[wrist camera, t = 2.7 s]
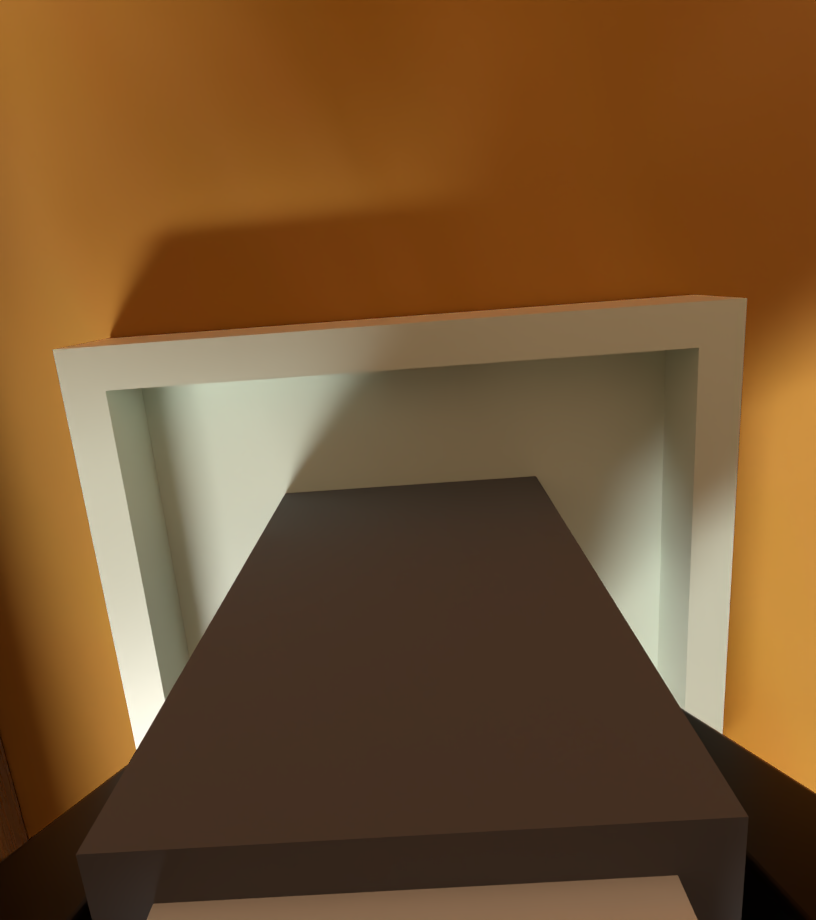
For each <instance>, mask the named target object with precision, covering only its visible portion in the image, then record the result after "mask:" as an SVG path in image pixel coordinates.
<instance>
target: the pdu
mask: <svg viewBox="0 0 816 920" xmlns="http://www.w3.org/2000/svg"><path fill="white" fill-rule="evenodd" d="M27 841H28V838H27V834H26V831H25V827H24V823H23V820H22V816H21V812H20V808H19V805H18V801H17V797H16V794H15V790H14V786H13V783H12V779H11V775H10V771H9V768H8V764H7V760H6V757H5V753H4V749H3V745H2V742H1V738H0V862H1V861H2V860H3V859H4V858H6V857H7V856H8V855H10V854H11V853H12V852H14V851H15V850H16V849H18V848H19V847H20V846H22V845H23V844H24V843H25V842H27Z"/></svg>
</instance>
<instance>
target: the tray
mask: <svg viewBox="0 0 816 920" xmlns="http://www.w3.org/2000/svg"><path fill="white" fill-rule="evenodd" d="M746 311H747V298H739V297H724V296H708V295H683V296H669V297H656V298H642V299H629V300H616V301H602V302H589V303H575V304H562V305H548V306H535V307H522V308H508V309H495V310H481V311H468V312H455V313H441V314H428V315H414V316H401V317H388V318H374V319H361V320H347V321H334V322H320V323H307V324H294V325H280V326H267V327H253V328H240V329H227V330H213V331H200V332H186V333H173V334H159V335H146V336H133V337H119V338H107V339H102V340H97V341H92V342H87V343H83V344H78V345H73V346H68V347H63V348H58V349H53V354H54V359H55V363H56V368H57V373H58V378H59V382H60V387H61V392H62V397H63V402H64V406H65V411H66V416H67V421H68V425H69V430H70V435H71V440H72V445H73V449H74V454H75V459H76V464H77V468H78V473H79V478H80V483H81V488H82V492H83V497H84V502H85V507H86V511H87V516H88V521H89V526H90V530H91V535H92V540H93V545H94V550H95V554H96V559H97V564H98V569H99V573H100V578H101V583H102V588H103V593H104V597H105V602H106V607H107V612H108V616H109V621H110V626H111V631H112V636H113V640H114V645H115V650H116V655H117V659H118V664H119V669H120V674H121V679H122V683H123V688H124V693H125V698H126V702H127V707H128V712H129V717H130V721H131V726H132V731H133V736H134V741H135V745H136V750H137V748H138V746H139V745H140V743H141V741H142V740H143V738H144V736H145V734H146V733H147V731H148V729H149V727H150V726H151V724H152V722H153V721H154V719H155V717H156V715H157V714H158V712H159V710H160V709H161V707H162V705H163V703H164V702H165V700H166V698H167V696H168V695H169V693H170V691H171V690H172V688H173V686H174V684H175V683H176V681H177V679H178V678H179V676H180V674H181V672H182V671H183V669H184V667H185V665H186V664H187V662H188V660H189V659H190V657H191V655H192V653H193V652H194V650H195V648H196V646H197V645H198V643H199V641H200V640H201V638H202V636H203V634H204V633H205V631H206V629H207V628H208V626H209V624H210V622H211V621H212V619H213V617H214V615H215V614H216V612H217V610H218V609H219V607H220V605H221V603H222V602H223V600H224V598H225V596H226V595H227V593H228V591H229V590H230V588H231V586H232V584H233V583H234V581H235V579H236V578H237V576H238V574H239V572H240V571H241V569H242V567H243V565H244V564H245V562H246V560H247V559H248V557H249V555H250V553H251V552H252V550H253V548H254V547H255V545H256V543H257V541H258V540H259V538H260V536H261V534H262V533H263V531H264V529H265V528H266V526H267V524H268V522H269V521H270V519H271V517H272V515H273V514H274V512H275V510H276V509H277V507H278V505H279V503H280V502H281V500H282V498H283V497H284V495H285V493H296V492H311V491H325V490H340V489H354V488H369V487H383V486H398V485H413V484H427V483H442V482H456V481H471V480H486V479H500V478H515V477H529V476H536V477H537V479H538V480H539V482H540V483H541V485H542V487H543V488H544V490H545V491H546V493H547V495H548V496H549V498H550V499H551V501H552V503H553V504H554V506H555V507H556V509H557V511H558V512H559V514H560V515H561V517H562V519H563V520H564V522H565V523H566V525H567V527H568V528H569V530H570V531H571V533H572V535H573V536H574V538H575V539H576V541H577V543H578V544H579V546H580V547H581V549H582V551H583V552H584V554H585V555H586V557H587V559H588V560H589V562H590V563H591V565H592V567H593V568H594V570H595V571H596V573H597V575H598V576H599V578H600V579H601V581H602V583H603V584H604V586H605V587H606V589H607V591H608V592H609V594H610V595H611V597H612V599H613V600H614V602H615V603H616V605H617V607H618V608H619V610H620V612H621V613H622V615H623V616H624V618H625V620H626V621H627V623H628V624H629V626H630V628H631V629H632V631H633V632H634V634H635V636H636V637H637V639H638V640H639V642H640V644H641V645H642V647H643V648H644V650H645V652H646V653H647V655H648V656H649V658H650V660H651V661H652V663H653V664H654V666H655V668H656V669H657V671H658V672H659V674H660V676H661V677H662V679H663V680H664V682H665V684H666V685H667V687H668V688H669V690H670V692H671V693H672V695H673V696H674V698H675V700H676V701H677V703H678V704H679V706H680V708H682V709H684V710H685V711H687V712H688V713H690V714H691V715H693V716H695V717H696V718H698V719H699V720H701V721H702V722H704V723H706V724H707V725H709V726H710V727H712V728H714V729H715V730H717V731H718V732H720V733H721V734H723V717H724V699H725V681H726V664H727V646H728V628H729V611H730V593H731V575H732V558H733V540H734V523H735V505H736V487H737V470H738V452H739V434H740V417H741V399H742V381H743V364H744V346H745V328H746Z"/></svg>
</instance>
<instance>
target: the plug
mask: <svg viewBox="0 0 816 920" xmlns="http://www.w3.org/2000/svg"><path fill="white" fill-rule="evenodd" d="M748 818H749V817H748V815H747V813H746V812H745V810H744V809H743V807H742V805H741V804H740V802H739V801H738V799H737V797H736V796H735V794H734V793H733V791H732V789H731V788H730V786H729V785H728V783H727V781H726V780H725V778H724V777H723V775H722V773H721V772H720V770H719V769H718V767H717V765H716V764H715V762H714V760H713V759H712V757H711V756H710V754H709V752H708V751H707V749H706V748H705V746H704V744H703V743H702V741H701V740H700V738H699V736H698V735H697V733H696V732H695V730H694V728H693V727H692V725H691V724H690V722H689V720H688V719H687V717H686V716H685V714H684V712H683V711H682V709H681V708H680V706H679V704H678V703H677V701H676V700H675V698H674V696H673V695H672V693H671V692H670V690H669V688H668V687H667V685H666V684H665V682H664V680H663V679H662V677H661V676H660V674H659V672H658V671H657V669H656V668H655V666H654V664H653V663H652V661H651V660H650V658H649V656H648V655H647V653H646V652H645V650H644V648H643V647H642V645H641V644H640V642H639V640H638V639H637V637H636V636H635V634H634V632H633V631H632V629H631V628H630V626H629V624H628V623H627V621H626V620H625V618H624V616H623V615H622V613H621V612H620V610H619V608H618V607H617V605H616V603H615V602H614V600H613V599H612V597H611V595H610V594H609V592H608V591H607V589H606V587H605V586H604V584H603V583H602V581H601V579H600V578H599V576H598V575H597V573H596V571H595V570H594V568H593V567H592V565H591V563H590V562H589V560H588V559H587V557H586V555H585V554H584V552H583V551H582V549H581V547H580V546H579V544H578V543H577V541H576V539H575V538H574V536H573V535H572V533H571V531H570V530H569V528H568V527H567V525H566V523H565V522H564V520H563V519H562V517H561V515H560V514H559V512H558V511H557V509H556V507H555V506H554V504H553V503H552V501H551V499H550V498H549V496H548V495H547V493H546V491H545V490H544V488H543V487H542V485H541V483H540V482H539V480H538V479H537V477H536V476H529V477H515V478H500V479H486V480H471V481H456V482H442V483H427V484H413V485H398V486H383V487H369V488H354V489H340V490H325V491H311V492H296V493H285V495H284V497H283V498H282V500H281V502H280V503H279V505H278V507H277V509H276V510H275V512H274V514H273V515H272V517H271V519H270V521H269V522H268V524H267V526H266V528H265V529H264V531H263V533H262V534H261V536H260V538H259V540H258V541H257V543H256V545H255V547H254V548H253V550H252V552H251V553H250V555H249V557H248V559H247V560H246V562H245V564H244V565H243V567H242V569H241V571H240V572H239V574H238V576H237V578H236V579H235V581H234V583H233V584H232V586H231V588H230V590H229V591H228V593H227V595H226V596H225V598H224V600H223V602H222V603H221V605H220V607H219V609H218V610H217V612H216V614H215V615H214V617H213V619H212V621H211V622H210V624H209V626H208V628H207V629H206V631H205V633H204V634H203V636H202V638H201V640H200V641H199V643H198V645H197V646H196V648H195V650H194V652H193V653H192V655H191V657H190V659H189V660H188V662H187V664H186V665H185V667H184V669H183V671H182V672H181V674H180V676H179V678H178V679H177V681H176V683H175V684H174V686H173V688H172V690H171V691H170V693H169V695H168V696H167V698H166V700H165V702H164V703H163V705H162V707H161V709H160V710H159V712H158V714H157V715H156V717H155V719H154V721H153V722H152V724H151V726H150V727H149V729H148V731H147V733H146V734H145V736H144V738H143V740H142V741H141V743H140V745H139V746H138V748H137V750H136V752H135V753H134V755H133V757H132V759H131V760H130V762H129V764H128V765H127V767H126V769H125V771H124V772H123V774H122V776H121V777H120V779H119V781H118V783H117V784H116V786H115V788H114V790H113V791H112V793H111V795H110V796H109V798H108V800H107V802H106V803H105V805H104V807H103V808H102V810H101V812H100V814H99V815H98V817H97V819H96V821H95V822H94V824H93V826H92V827H91V829H90V831H89V833H88V834H87V836H86V838H85V840H84V841H83V843H82V845H81V846H80V848H79V850H78V852H77V853H76V858H77V862H78V866H79V870H80V874H81V878H82V882H83V886H84V890H85V894H86V898H87V902H88V906H89V910H90V914H91V918H92V920H741V917H742V903H743V889H744V875H745V861H746V847H747V832H748Z"/></svg>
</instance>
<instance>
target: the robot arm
mask: <svg viewBox="0 0 816 920" xmlns="http://www.w3.org/2000/svg"><path fill="white" fill-rule="evenodd" d="M681 709H682V708H681ZM682 711H683V712H684V714H685V716H686V717H687V719H688V720H689V722H690V724H691V725H692V727H693V728H694V730H695V732H696V733H697V735H698V736H699V738H700V740H701V741H702V743H703V744H704V746H705V748H706V749H707V751H708V752H709V754H710V756H711V757H712V759H713V760H714V762H715V764H716V765H717V767H718V769H719V770H720V772H721V773H722V775H723V777H724V778H725V780H726V781H727V783H728V785H729V786H730V788H731V789H732V791H733V793H734V794H735V796H736V797H737V799H738V801H739V802H740V804H741V805H742V807H743V809H744V810H745V812H746V813H747V815H748V817H749V818H748V832H747V847H746V861H745V875H744V889H743V903H742V917H741V920H816V793H814V792H813V791H811V790H810V789H808V788H806V787H805V786H803V785H802V784H800V783H799V782H797V781H795V780H794V779H792V778H791V777H789V776H788V775H786V774H784V773H783V772H781V771H780V770H778V769H777V768H775V767H773V766H772V765H770V764H769V763H767V762H765V761H764V760H762V759H761V758H759V757H758V756H756V755H754V754H753V753H751V752H750V751H748V750H747V749H745V748H743V747H742V746H740V745H739V744H737V743H736V742H734V741H732V740H731V739H729V738H728V737H726V736H725V735H723V734H721V733H720V732H718V731H717V730H715V729H714V728H712V727H710V726H709V725H707V724H706V723H704V722H702V721H701V720H699V719H698V718H696V717H695V716H693V715H691V714H690V713H688V712H687V711H685V710H684V709H682ZM126 767H127V765H126V766H125V767H124V768H123V769H121V770H120V771H119V772H117V773H116V774H115V775H113V776H112V777H111V778H109V779H108V780H107V781H105V782H104V783H103V784H102V785H100V786H99V787H98V788H96V789H95V790H94V791H92V792H91V793H90V794H88V795H87V796H86V797H85V798H83V799H82V800H81V801H79V802H78V803H77V804H75V805H74V806H73V807H71V808H70V809H69V810H67V811H66V812H65V813H64V814H62V815H61V816H60V817H58V818H57V819H56V820H54V821H53V822H52V823H50V824H49V825H48V826H46V827H45V828H44V829H43V830H41V831H40V832H39V833H37V834H36V835H35V836H33V837H32V838H31V839H29V840H28V841H27V842H25V843H24V844H23V845H22V846H20V847H19V848H18V849H16V850H15V851H14V852H12V853H11V854H10V855H8V856H7V857H6V858H4V859H3V860H2V861H1V862H0V920H92V918H91V914H90V910H89V906H88V902H87V898H86V894H85V890H84V886H83V882H82V878H81V874H80V870H79V866H78V862H77V858H76V853H77V852H78V850H79V848H80V846H81V845H82V843H83V841H84V840H85V838H86V836H87V834H88V833H89V831H90V829H91V827H92V826H93V824H94V822H95V821H96V819H97V817H98V815H99V814H100V812H101V810H102V808H103V807H104V805H105V803H106V802H107V800H108V798H109V796H110V795H111V793H112V791H113V790H114V788H115V786H116V784H117V783H118V781H119V779H120V777H121V776H122V774H123V772H124V771H125V769H126Z"/></svg>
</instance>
